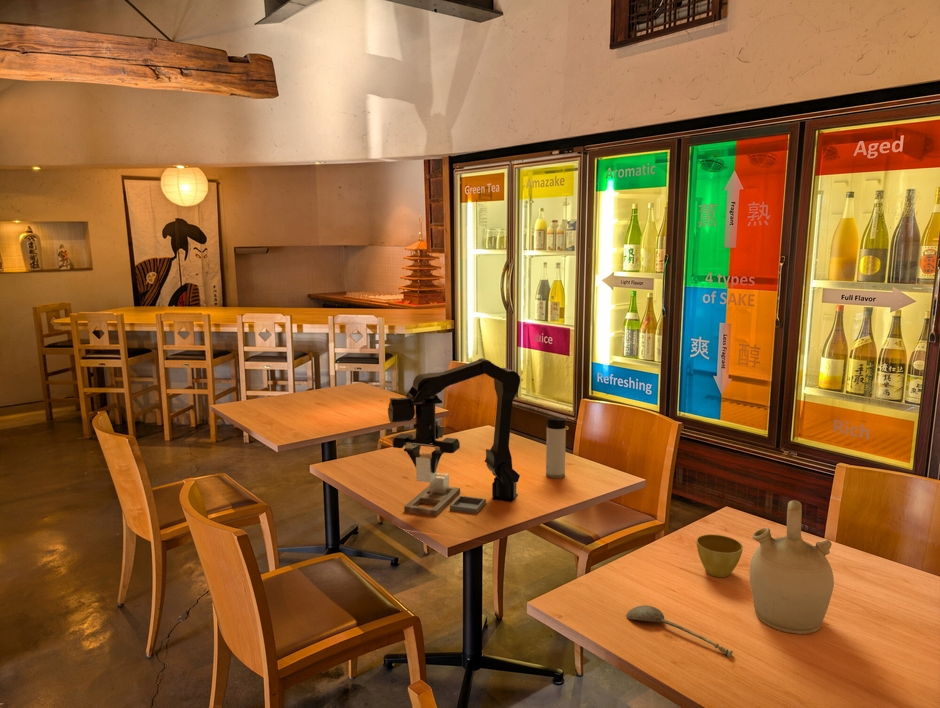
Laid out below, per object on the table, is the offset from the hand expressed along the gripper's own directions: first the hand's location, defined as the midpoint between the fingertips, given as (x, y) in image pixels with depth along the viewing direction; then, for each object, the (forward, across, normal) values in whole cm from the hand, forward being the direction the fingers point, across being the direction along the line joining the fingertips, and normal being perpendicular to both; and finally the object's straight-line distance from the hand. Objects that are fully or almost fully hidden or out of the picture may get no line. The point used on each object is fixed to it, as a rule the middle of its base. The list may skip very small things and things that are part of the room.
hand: (426, 471), depth 188 cm
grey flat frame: (+11, 0, -5) cm, 12 cm away
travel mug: (+12, -29, -41) cm, 51 cm away
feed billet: (+2, 0, 0) cm, 2 cm away
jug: (+12, -92, +28) cm, 97 cm away
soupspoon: (+12, -71, +41) cm, 83 cm away
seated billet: (+11, 0, -10) cm, 15 cm away
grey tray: (+11, -11, -5) cm, 17 cm away
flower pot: (+12, -79, +12) cm, 81 cm away
